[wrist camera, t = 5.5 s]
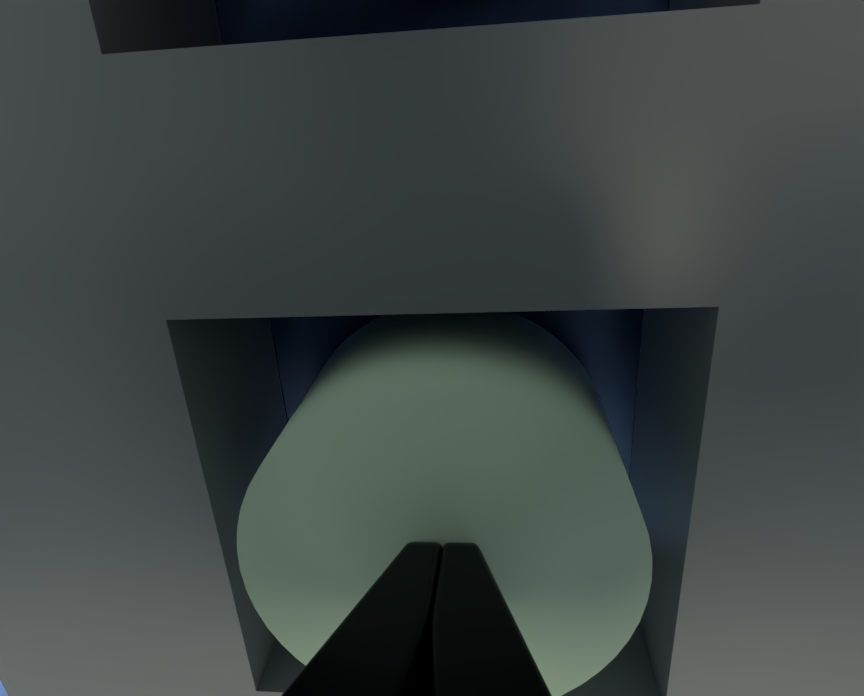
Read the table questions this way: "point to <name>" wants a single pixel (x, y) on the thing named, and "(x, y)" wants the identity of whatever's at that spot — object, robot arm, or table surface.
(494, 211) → the button panel
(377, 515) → the sage button
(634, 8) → the table surface
